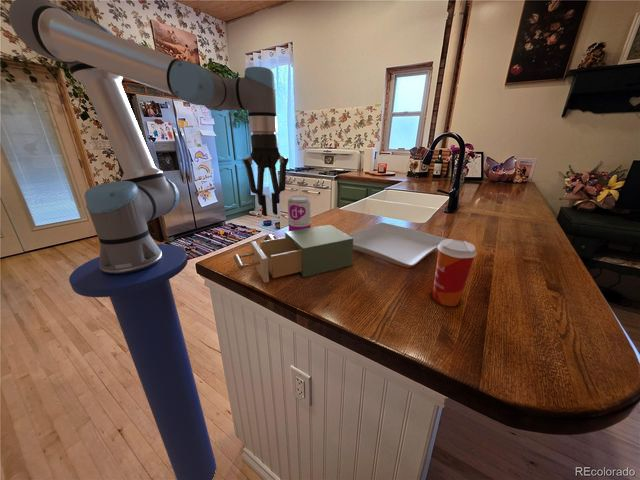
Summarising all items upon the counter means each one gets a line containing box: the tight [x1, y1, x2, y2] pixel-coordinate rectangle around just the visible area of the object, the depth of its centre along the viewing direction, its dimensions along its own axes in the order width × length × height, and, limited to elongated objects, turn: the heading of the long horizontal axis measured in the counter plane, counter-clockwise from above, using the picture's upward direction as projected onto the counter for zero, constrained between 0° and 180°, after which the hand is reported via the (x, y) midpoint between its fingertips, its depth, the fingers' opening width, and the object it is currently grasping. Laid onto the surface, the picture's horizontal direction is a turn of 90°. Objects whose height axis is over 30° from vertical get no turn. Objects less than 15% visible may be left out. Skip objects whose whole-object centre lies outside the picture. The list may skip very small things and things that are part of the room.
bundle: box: [263, 234, 277, 241], centre depth 84 cm, size 7×5×5 cm
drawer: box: [233, 236, 303, 283], centre depth 71 cm, size 20×12×7 cm, turn 117°
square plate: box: [347, 221, 447, 269], centre depth 86 cm, size 27×27×4 cm
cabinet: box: [284, 224, 354, 278], centre depth 76 cm, size 16×14×9 cm
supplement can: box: [287, 195, 312, 231], centre depth 94 cm, size 8×8×15 cm
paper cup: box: [432, 238, 478, 307], centre depth 58 cm, size 8×8×14 cm
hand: (269, 214), depth 80 cm, fingers open, 3 cm apart
